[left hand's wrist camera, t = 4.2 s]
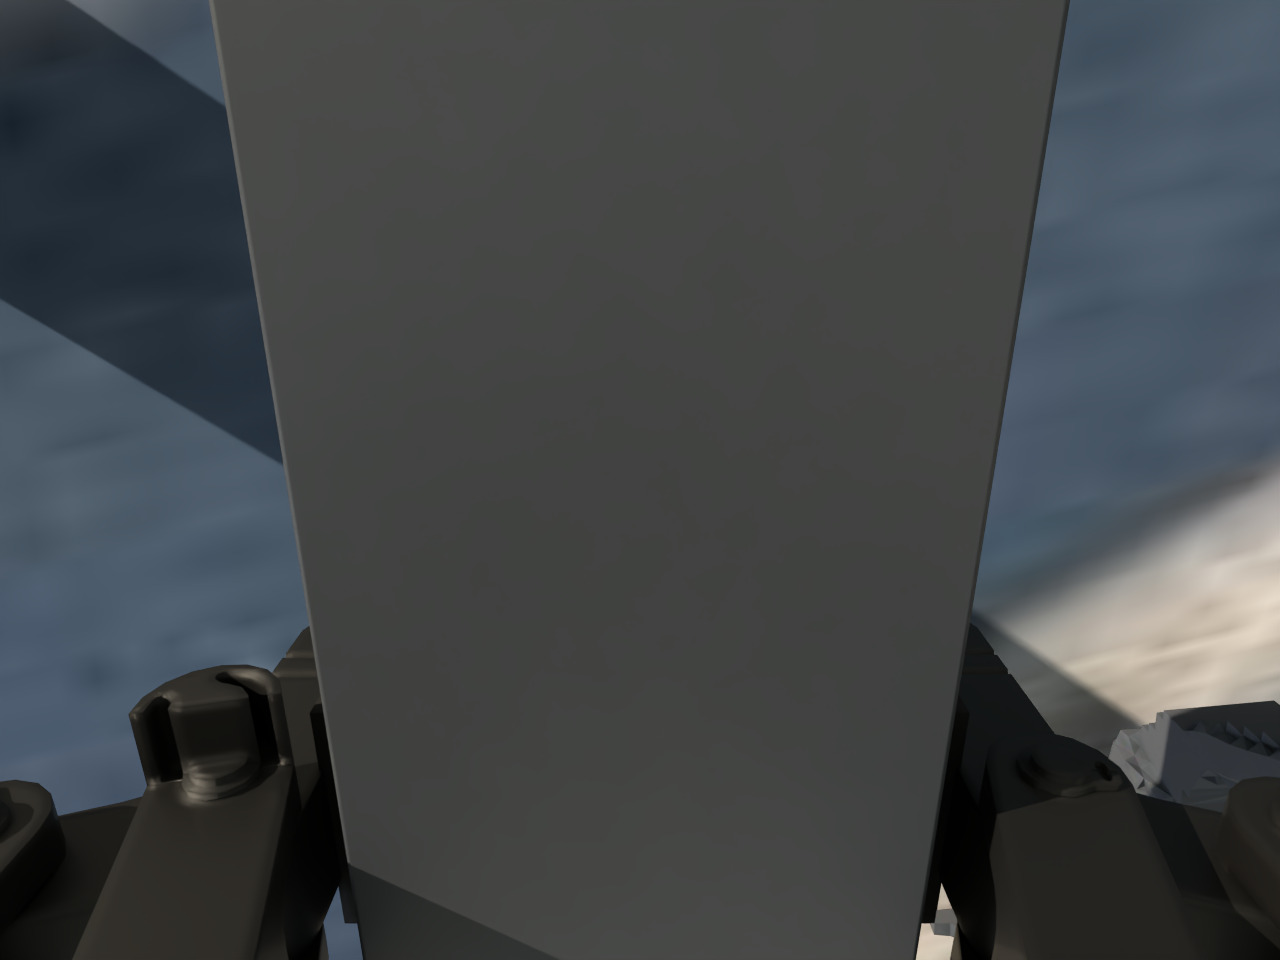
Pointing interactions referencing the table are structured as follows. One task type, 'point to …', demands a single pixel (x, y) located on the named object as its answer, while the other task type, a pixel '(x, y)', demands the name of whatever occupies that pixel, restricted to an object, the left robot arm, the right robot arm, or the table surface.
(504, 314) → the bar
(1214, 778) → the toy
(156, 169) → the table surface
